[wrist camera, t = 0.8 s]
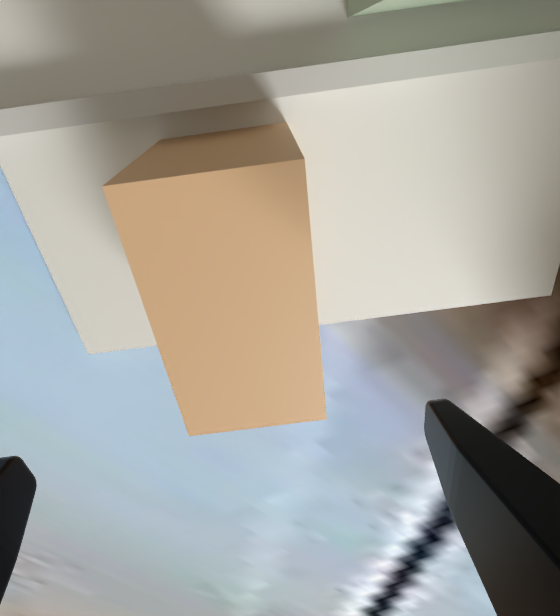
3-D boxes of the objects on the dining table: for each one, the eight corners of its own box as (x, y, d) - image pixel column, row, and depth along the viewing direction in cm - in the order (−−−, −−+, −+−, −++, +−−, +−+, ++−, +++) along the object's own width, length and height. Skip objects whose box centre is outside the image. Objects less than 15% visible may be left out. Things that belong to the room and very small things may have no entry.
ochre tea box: (160, 139, 16) (101, 186, 10) (288, 121, 16) (308, 158, 10) (208, 327, 21) (188, 435, 15) (308, 314, 20) (329, 419, 14)
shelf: (706, -370, 11) (823, -483, 9) (541, 287, 21) (574, 314, 19) (-167, -231, 11) (-271, -303, 9) (93, 344, 22) (74, 377, 20)
